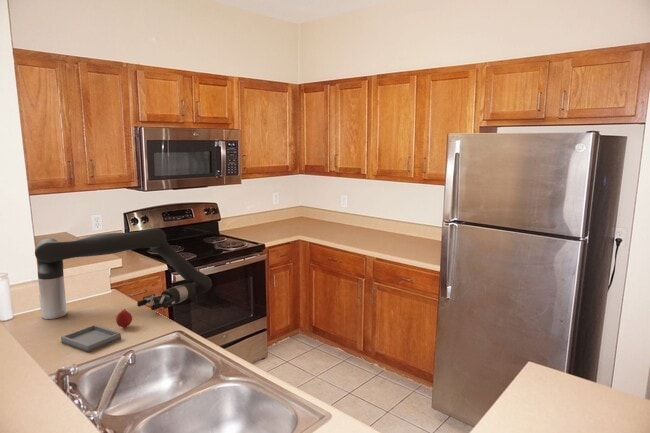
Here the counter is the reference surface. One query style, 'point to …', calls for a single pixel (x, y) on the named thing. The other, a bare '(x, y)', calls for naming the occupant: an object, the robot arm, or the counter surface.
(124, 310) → the onion
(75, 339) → the tray
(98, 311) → the counter surface
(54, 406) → the counter surface
